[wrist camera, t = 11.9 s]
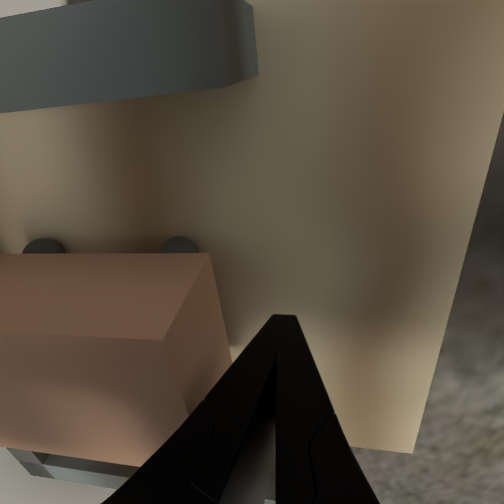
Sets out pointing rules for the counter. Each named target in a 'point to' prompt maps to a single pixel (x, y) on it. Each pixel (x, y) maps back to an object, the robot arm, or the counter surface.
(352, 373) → the dock
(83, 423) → the tan cardboard-like brick
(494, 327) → the counter surface
